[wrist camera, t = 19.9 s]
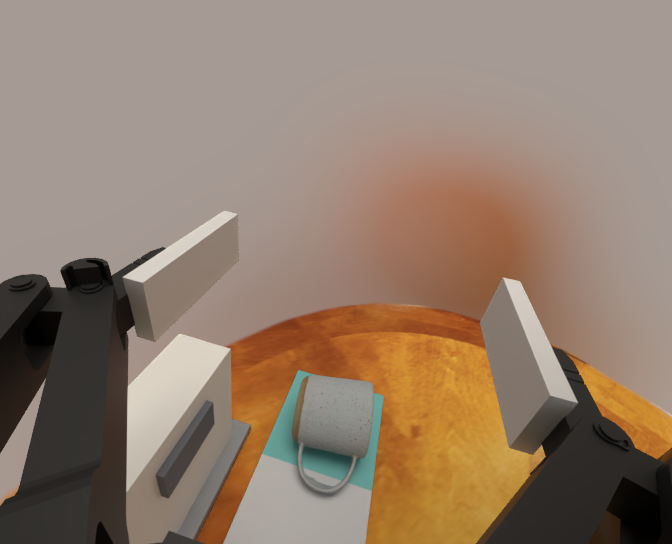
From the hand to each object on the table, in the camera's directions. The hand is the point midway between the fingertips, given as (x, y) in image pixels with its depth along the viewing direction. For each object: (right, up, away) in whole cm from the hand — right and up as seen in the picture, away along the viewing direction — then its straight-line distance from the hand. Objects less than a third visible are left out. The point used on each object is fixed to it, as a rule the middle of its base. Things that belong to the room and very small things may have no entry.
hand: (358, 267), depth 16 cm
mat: (-3, -22, +18) cm, 29 cm away
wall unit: (-17, -22, +14) cm, 31 cm away
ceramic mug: (-2, -20, +21) cm, 29 cm away
